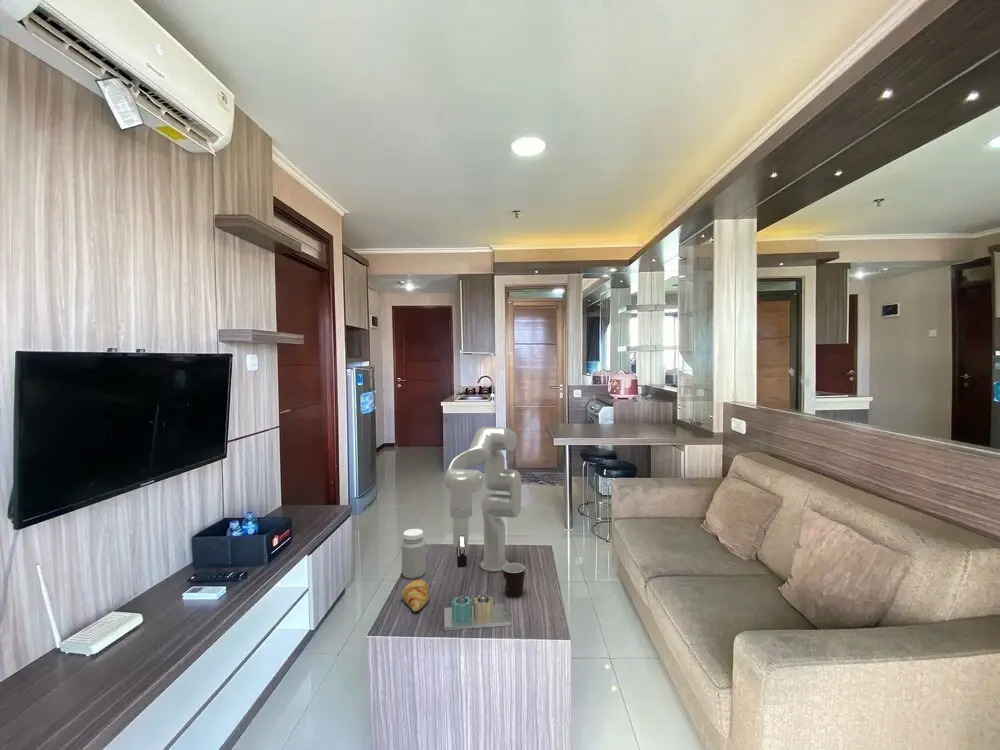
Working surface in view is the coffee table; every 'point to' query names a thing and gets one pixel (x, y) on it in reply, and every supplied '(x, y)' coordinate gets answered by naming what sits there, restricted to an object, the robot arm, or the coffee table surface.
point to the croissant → (416, 594)
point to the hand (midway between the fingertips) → (461, 560)
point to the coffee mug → (513, 579)
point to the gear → (462, 609)
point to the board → (476, 622)
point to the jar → (413, 554)
